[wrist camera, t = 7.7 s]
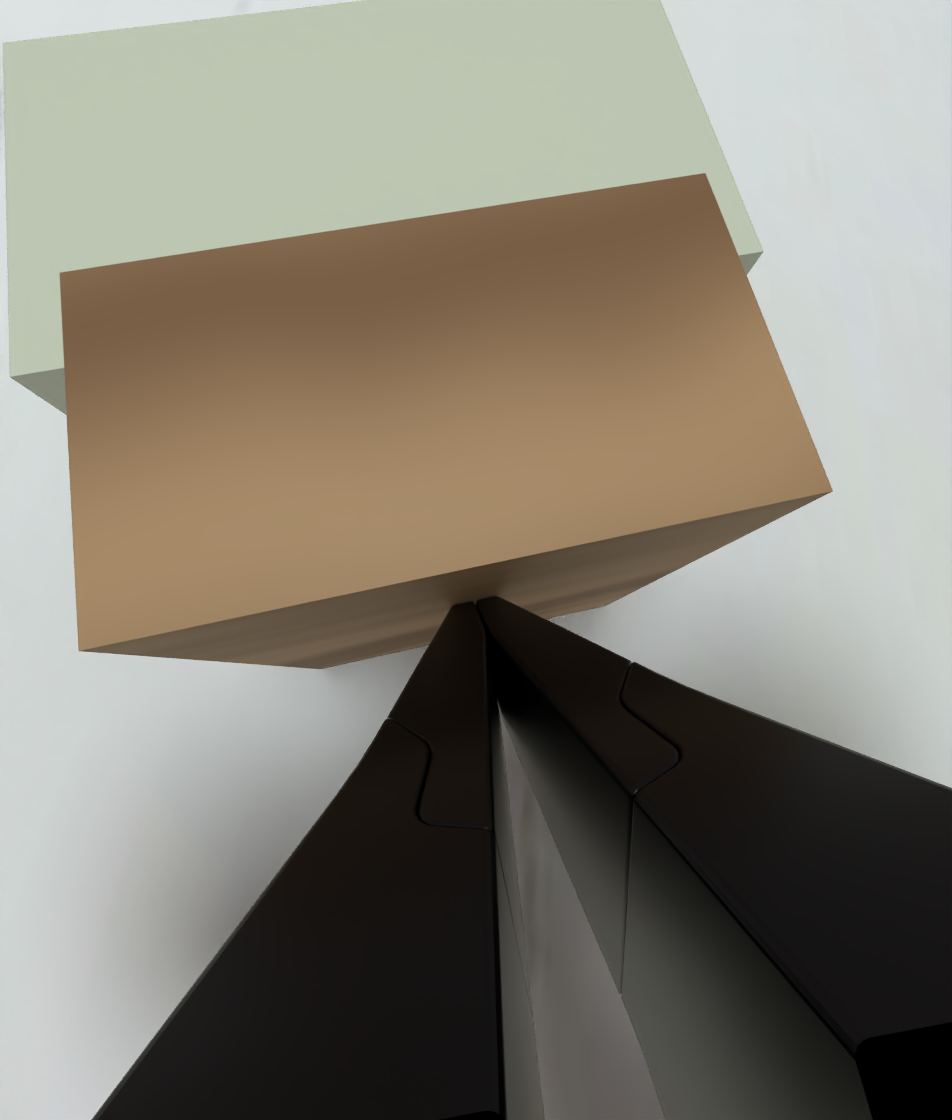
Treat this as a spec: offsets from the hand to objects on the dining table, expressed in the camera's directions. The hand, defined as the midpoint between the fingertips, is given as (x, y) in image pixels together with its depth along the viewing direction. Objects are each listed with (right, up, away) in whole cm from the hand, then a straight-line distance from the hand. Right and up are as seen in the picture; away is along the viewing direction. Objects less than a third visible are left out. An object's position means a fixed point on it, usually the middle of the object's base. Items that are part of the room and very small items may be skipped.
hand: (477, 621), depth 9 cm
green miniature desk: (-3, +9, +9) cm, 13 cm away
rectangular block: (-2, +5, +8) cm, 10 cm away
